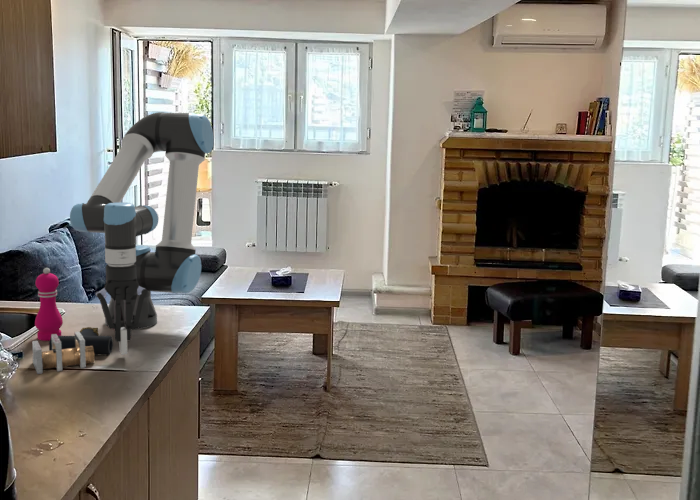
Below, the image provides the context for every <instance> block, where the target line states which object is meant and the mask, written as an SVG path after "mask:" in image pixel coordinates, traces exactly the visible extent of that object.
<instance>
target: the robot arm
mask: <svg viewBox="0 0 700 500" xmlns="http://www.w3.org/2000/svg"><path fill="white" fill-rule="evenodd" d="M214 138H215V137H214V130H213V127H212V123H211V122H210V120H209V118H208V117H207V116H206V115H204V114H203V113H193V112H163V111H160V112H158V111H157V112H153V113H150V114H148V115H145V116H144V117H142V118H141V119H139V120H138V121H136V122H135V123H133V125H131V127H130V128H129V129H128V130H127V131H126V133H125V134H124V136H123V137H122V139H121V147H120V149H119V151H118V153H117V154H116V155H115V157H114V158H113V160H112V162H111V164H110V165H109V167H108V168H107V170H106V172H105V173H104V175H103V176H102V178H101V180H100V182H99V183H98V184H97V186H96V188H95V190H94V191H93V193H92V195H91V196H90V197H89V199H88V200H87V201H86V203H85V202H81V203H76V204H74V205H73V206H72V207H71V209H70V213H69V222H70V224H71V227H72V228H73V229H74V230H75V231H78V232H82V233H89V234H90V233H99V234H104V255H105V257H104V259H105V262H104V263H106V265H105V282H104V285H103V288H102V289H101V290H99V291H95V296H96V298H98V300H99V302H100V305H101V309H102V312H103V316H104V321H105V323H104V325H105V326H106V327H108V328H109V329H113V330H114V340H115V341H116V343H118V345H119V346H118V348H119V349H118V350H119V353H120V354H121V355H128V342H129V341H131V339H132V330H139V329H140V330H141V329H145V328H149V327H153V326H154V325H156V324H157V323H158V315H157V314H158V313H157V311H156V307H155V306H154V305H155V304H154V303H153V300H152V295H151V294H152V293H151V292H156V293H167V294H168V293H171V294H175V295H176V294H177V295H178V294H188V293H191V292H192V291H193V290H194V289H195V288H196V286H197V285H198V283H199V280H200V277H201V273H202V260H201V257H200V256H199V255H197V254H196V251H197V249H196V248H195V247H194V245H193V244H192V238H193V228H194V227H193V226H194V216H195V210H196V209H195V208H196V201H197V200H196V199H197V198H196V197H197V190H198V188H197V187H198V178H199V170H200V169H199V167H200V164H202V163H203V162H204V161H205V160H206V159H205V157H206V154H209V153H211V152H212V151H213V148H214V144H215V142H214V140H215V139H214ZM157 152H165V157H166V158H167V160H168V161H169V164H168V165H169V167H168V177H167V186H166V187H167V188H166V194H165V196H166V197H165V206H164V216H163V225H162V234H161V236H162V237H161V240H160V241H159V243H157V244H156V245H155V251H153V252H151V248H150V246H148V245H137V244H136V243H137V240H136V239H137V237H139V236H142V235H147V234H149V233H150V232H153V231H154V230H155V229H156V228H157V227H158V223H159V215H158V213H157V211H156V210H155V208H153V207H152V206H149V205H147V204H146V205H137V206H135V205H134V204H133V203H132V202H122V200H123V199H124V197H125V195H126V194H127V192H128V190H129V189H130V187H131V185H132V183H133V182H134V180H135V178H136V176H137V175H138V173H139V172H140V170H141V168H142V167H143V164H144V163H145V161H147V160H148V159H150V158H151V157H152V156H153V154H155V153H157ZM107 294H108V295H109V296H110V300H109V302H108V303H107V300H106V298H107Z"/></svg>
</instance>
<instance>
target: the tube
mask: <svg viewBox="0 0 700 500" xmlns="http://www.w3.org/2000/svg"><path fill="white" fill-rule="evenodd" d="M95 357H96V356H95V355H94V349H93V346H85V358H86V365H88V364H94V363H95ZM73 366H80V354H79V347H77V348H68V349H62V368H64V367H73ZM42 369H43V370H47V369H48V370H49V369H56V349H52V350H51V351H49V350H45V351H43V350H42Z"/></svg>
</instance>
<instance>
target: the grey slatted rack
mask: <svg viewBox="0 0 700 500" xmlns="http://www.w3.org/2000/svg"><path fill="white" fill-rule="evenodd" d="M51 336H52V349H56V368H55V369H56V372H63V367H62V349H61V341H60V339H59V338H58V336H57V334H51ZM73 336H75V348H77V347H79V354H80V365H79V368H80V369H86V368H87V366H86V365H87V364H86V358H85V339H84V338H83V336H82V335H81V333H80V331H74V334H73ZM31 343H32V344H31V345H32V365H33V366H34V369H35V372H36V374H37V375H41V374H44V372H43V370H44V369H43V368H42V351H43V350H42V348H41V345H40V343H39V341H38V340H32V342H31Z"/></svg>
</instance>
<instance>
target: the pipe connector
mask: <svg viewBox="0 0 700 500" xmlns="http://www.w3.org/2000/svg"><path fill="white" fill-rule="evenodd" d="M79 332H80V333H81V335H82V336H83V338H84V339H85V346H93V349H94V356H102V355H103V356H110V355H111V354H112V353H113V349H114V340H113V336H112V335H100V334H99V328H98V327H91V326H87V327H82V328H81V329H80V331H79ZM58 338H59V339H60V341H61V349H68V348H75V335H61V336H58ZM48 349H49V350H48V351H51V350H52V336H51V338H50V341H49V343H48Z"/></svg>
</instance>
